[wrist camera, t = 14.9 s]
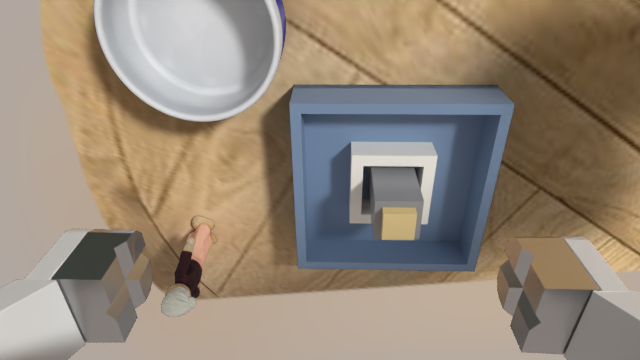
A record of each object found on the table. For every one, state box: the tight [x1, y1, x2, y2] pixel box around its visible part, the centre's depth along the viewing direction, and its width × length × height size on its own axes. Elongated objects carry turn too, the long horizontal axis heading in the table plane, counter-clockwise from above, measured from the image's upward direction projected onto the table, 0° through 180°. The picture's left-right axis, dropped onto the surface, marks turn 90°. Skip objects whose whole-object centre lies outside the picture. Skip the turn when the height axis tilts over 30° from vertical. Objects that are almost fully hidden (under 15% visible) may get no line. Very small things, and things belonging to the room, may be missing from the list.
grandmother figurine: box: [161, 216, 217, 317], centre depth 48 cm, size 8×4×13 cm, turn 10°
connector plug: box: [368, 166, 424, 240], centre depth 43 cm, size 4×4×9 cm
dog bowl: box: [94, 0, 286, 122], centre depth 38 cm, size 15×15×6 cm
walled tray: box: [289, 85, 515, 271], centre depth 46 cm, size 20×20×5 cm
